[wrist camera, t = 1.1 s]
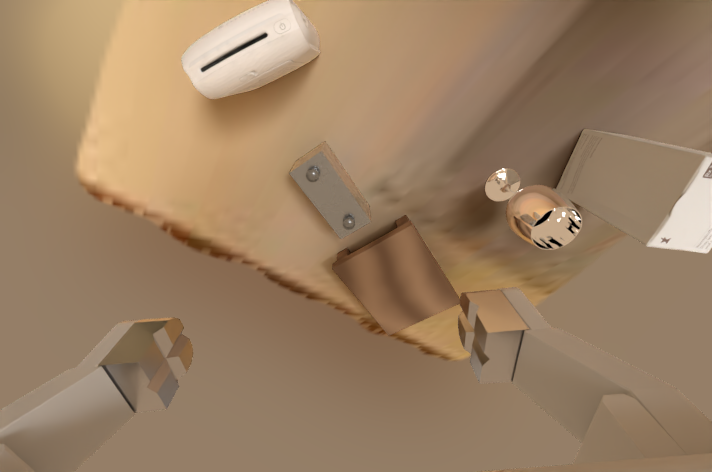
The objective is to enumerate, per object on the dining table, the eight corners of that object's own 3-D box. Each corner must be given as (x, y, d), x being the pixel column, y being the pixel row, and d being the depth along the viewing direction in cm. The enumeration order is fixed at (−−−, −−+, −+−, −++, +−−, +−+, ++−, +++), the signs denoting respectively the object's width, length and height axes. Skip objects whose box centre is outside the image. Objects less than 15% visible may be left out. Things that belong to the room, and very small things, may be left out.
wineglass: (478, 168, 38) (526, 208, 28) (526, 158, 38) (592, 194, 27) (480, 209, 41) (523, 259, 30) (524, 200, 40) (584, 248, 30)
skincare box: (593, 196, 40) (707, 259, 27) (550, 190, 40) (645, 252, 27) (629, 130, 36) (784, 168, 23) (582, 123, 36) (712, 157, 23)
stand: (407, 211, 41) (412, 224, 37) (453, 285, 47) (461, 302, 44) (334, 252, 44) (332, 268, 41) (386, 316, 50) (388, 335, 47)
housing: (325, 140, 37) (320, 152, 32) (369, 204, 41) (371, 224, 36) (296, 160, 38) (287, 175, 33) (342, 221, 42) (340, 242, 37)
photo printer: (309, 7, 30) (284, -24, 19) (328, 54, 32) (315, 49, 21) (222, 55, 32) (155, 50, 21) (244, 96, 34) (194, 111, 23)
